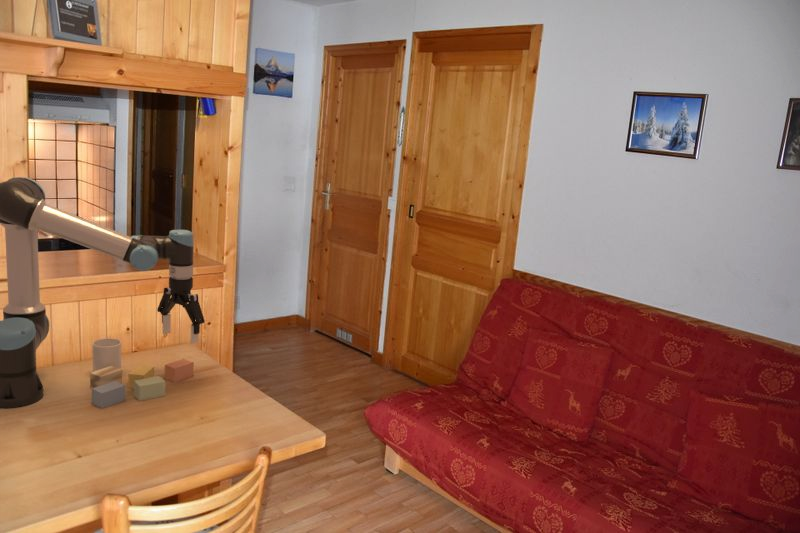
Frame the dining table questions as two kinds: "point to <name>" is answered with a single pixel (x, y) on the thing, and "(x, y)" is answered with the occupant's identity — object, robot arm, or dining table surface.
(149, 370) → the mustard brick
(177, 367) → the terracotta brick
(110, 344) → the mug
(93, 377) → the birch brick
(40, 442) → the dining table surface
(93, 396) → the slate brick
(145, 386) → the sage brick
